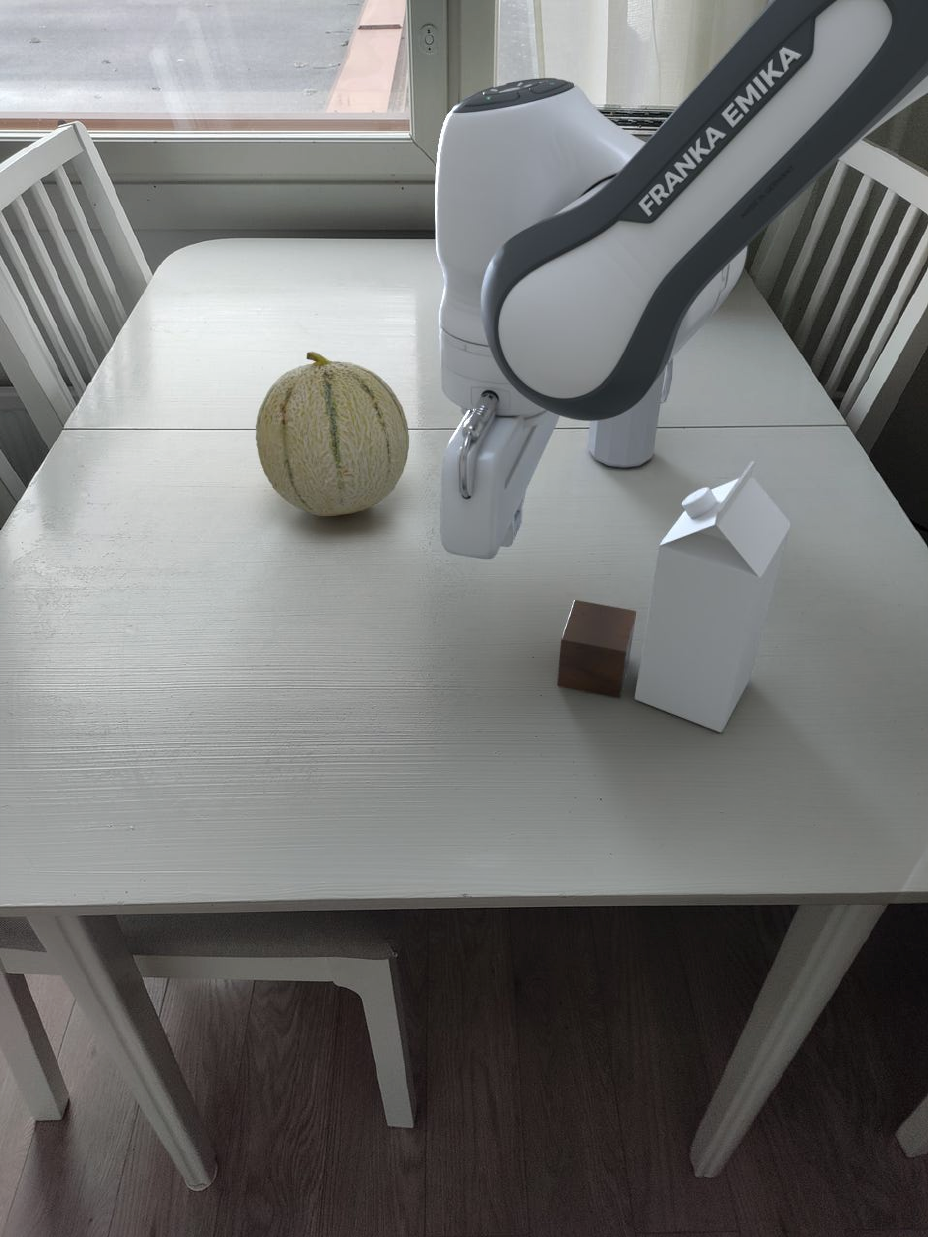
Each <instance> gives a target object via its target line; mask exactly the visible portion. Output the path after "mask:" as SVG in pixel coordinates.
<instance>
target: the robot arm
mask: <svg viewBox="0 0 928 1237" xmlns="http://www.w3.org/2000/svg"><path fill="white" fill-rule="evenodd" d="M927 94H928V0H769V2H768V3H767V4H766V5H765V7H764V8H763V9H762V10H761V11H760V12H759V14H757V16H756V17H755V18H754V20H752V22H750V24H749V25H748V27H746V29H745V30H744V31H743V32H742V33H741V34H740V36H738V38H737V39H736V40H735V41H734V42H733V44H732V45H731V46H730V47H729V49H728V50H727V51H726V52H725V53H724V54H723V55H722V56H721V57H720V58H719V59H718V61H717V62H716V63H715V64H714V65H713V66H712V67H711V69H709V71H708V72H707V73H706V74H705V75H704V77H702V79H701V80H700V81H699V82H698V83H697V84H696V85H695V86H694V87H693V89H692V90H691V91H690V92H689V93H688V94H687V95H686V97H684V99H683V100H682V101H681V102H680V103H679V105H678V106H676V108H675V109H673V111H672V112H671V114H670V115H669V116H668V117H667V118H666V119H665V120H664V121H663V122H662V124H660V126H659V127H658V128H657V129H656V130H655V131H654V132H653V134H651V136H650V137H649V138H648V139H647V140H646V141H643V140H642V139H640V138H638V137H636V136H635V135H633V134H631V133H629V132H628V131H627V130H625V129H623V128H622V127H621V126H619V125H617V124H616V123H615V122H613V121H612V120H610V119H609V118H608V117H606V116H605V115H604V114H603V113H602V112H600V110H598V109H597V107H596V106H594V105H593V102H591V101H590V99H589V98H588V96H587V95H586V93H585V92H584V91H583V89H582V88H581V87H580V86H579V85H577V84H575V83H574V82H571V81H569V80H565V79H560V78H556V77H542V78H541V77H540V78H539V77H538V78H530V79H522V80H517V81H516V80H515V81H511V82H507V83H505V84H502V85H497V86H495V87H494V86H491V87H487V88H485V89H483V90H481V91H477V92H476V93H475V92H474V93H473V94H471V95H469V96H468V97H466V98H463V99H462V100H461V101H460V102H458V103H457V104H456V105H454V106H453V107H452V109H451V111H449V113H448V114H447V115H446V117H445V120H444V122H443V126H442V128H441V131H440V132H441V133H440V138H439V143H438V151H437V160H436V161H437V162H436V173H435V201H434V202H435V206H434V207H435V209H434V210H435V211H434V212H435V216H434V217H435V246H436V248H435V249H436V256H437V258H438V261H439V265H440V268H441V271H442V276H443V291H442V298H441V301H440V305H439V309H438V336H439V361H440V362H439V363H440V364H439V366H440V387H441V390H442V392H443V394H444V396H445V397H446V398H447V399H448V400H449V401H450V402H452V403H453V404H455V405H456V406H458V407H460V412H461V414H462V415H463V418H462V420H461V421H460V423H459V424H458V426H457V428H456V430H455V431H454V433H453V434H452V436H451V438H450V439H449V441H448V443H447V446H446V448H445V451H444V455H443V459H442V467H441V478H440V479H441V480H440V506H439V537H440V543H441V545H442V547H443V549H444V550H445V551H446V552H447V553H449V554H451V555H455V556H462V557H465V558H466V557H467V558H474V559H480V560H492V559H494V558H495V557H496V556H497V554H498V553H499V550H500V548H501V547H502V548H503V547H504V548H509V547H511V546H512V545H513V543H514V541H515V539H516V537H517V533H518V531H519V530H520V527H521V525H522V524H523V506H524V503H525V497H526V494H527V489H528V487H529V485H530V484H531V481H532V478H533V476H534V474H535V472H536V470H537V468H538V465H539V463H540V461H541V459H542V456H543V455H544V452H545V450H546V449H547V446H548V444H549V441H550V439H551V437H552V435H553V433H554V430H555V429H556V426H557V424H558V422H559V419H560V416H561V417H563V418H567V419H571V420H575V421H584V422H590V421H596V420H604V419H609V418H612V417H615V416H618V415H620V414H622V413H624V412H626V411H628V410H629V409H631V408H632V407H633V406H635V405H636V404H637V403H638V402H639V401H640V400H641V399H642V398H643V397H644V396H645V394H646V393H647V392H648V391H649V389H650V388H651V386H652V385H653V384H654V383H655V381H656V380H657V379H658V377H659V376H660V375H661V373H662V372H663V370H664V369H665V367H666V368H667V364H668V362H669V361H670V360H671V359H672V358H673V359H674V357H675V356H676V355H677V354H678V353H679V352H680V351H681V349H682V348H683V347H684V346H685V345H686V344H687V343H688V342H689V341H690V340H691V338H693V337H694V335H695V334H696V333H697V332H698V331H699V330H700V328H701V327H702V326H703V325H704V324H705V323H707V321H708V320H709V319H710V318H711V317H712V316H713V315H714V313H715V312H716V311H717V310H718V309H719V308H720V306H722V304H723V303H724V301H726V299H727V298H728V296H729V295H731V293H732V292H733V290H734V289H735V288H736V287H737V285H738V284H739V282H740V280H741V278H742V276H743V273H744V270H745V268H746V266H747V260H748V257H749V256H748V255H749V249H750V244H751V243H752V242H753V241H754V240H755V239H756V238H758V236H759V235H760V234H761V233H762V232H763V231H765V229H766V228H768V227H769V225H770V224H772V223H773V222H774V221H775V220H776V219H777V218H778V217H779V216H780V215H781V214H782V213H783V212H785V211H786V209H787V208H788V207H790V206H791V205H792V204H793V203H794V202H795V201H796V200H797V199H798V198H799V197H800V196H802V194H803V193H804V192H805V191H806V190H807V189H808V188H809V187H810V186H812V185H813V184H814V183H815V182H816V181H817V180H818V179H819V178H821V176H822V175H823V174H824V173H825V172H827V170H829V169H830V168H831V167H832V166H833V165H834V164H835V163H836V162H838V160H839V159H841V158H842V157H843V156H844V155H846V153H848V151H850V150H851V149H853V147H855V146H856V145H857V144H858V143H860V142H861V141H862V140H863V139H864V138H866V137H867V136H868V135H869V134H871V133H873V132H874V131H876V130H877V129H878V128H879V127H881V125H883V124H884V123H886V122H887V121H888V120H890V119H891V118H892V117H893V116H895V115H897V114H899V113H900V112H902V111H903V110H904V109H905V108H907V107H909V106H910V105H912V104H913V103H914V102H916V101H917V100H919V99H920V98H921V97H923V96H925V95H927ZM665 370H666V369H665Z"/></svg>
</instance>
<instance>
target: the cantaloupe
mask: <svg viewBox="0 0 928 1237" xmlns="http://www.w3.org/2000/svg"><path fill="white" fill-rule="evenodd" d="M306 360H309V361H313V362H312V363H307V364H304V365H300V366H297V367H295V368H293V369H291V370H288V371H286V372H285V373H283V374H282V375H281V376H279V378H278V379H277V380H276V381H275V382H274V383H273V384H272V385H271V386H270V387H269V389H268V390H267V392H266V394H265V396H264V397H263V400H262V402H261V405H260V407H259V409H258V413H257V417H256V425H255V440H256V447H257V453H258V458H259V463H260V465H261V468H262V471H263V473H264V475H265V477H266V478H267V480H268V482H269V483H270V485H271V488H272V489H273V490H275V491H276V493H277V494H279V496H280V497H282V498H283V499H284V500H285V501H286V502H288V503H290V504H291V505H292V506H294V507H296V508H298V509H300V510H302V511H305V512H307V513H309V514H313V515H315V516H318V517H335V516H342V515H348V514H354V513H359V512H362V511H364V510H366V509H369V508H370V507H373V506H375V505H377V504H378V503H380V502H381V501H382V500H384V499H385V498H386V497H387V496H388V495H389V494H391V493H392V491H393V490H394V489H395V487H396V485H397V483H398V482H399V481H400V479H401V477H402V475H403V474H404V471H405V468H406V465H407V460H408V456H409V448H410V434H409V426H408V425H409V424H408V421H407V420H408V419H407V418H406V414H405V411H404V407H403V405H402V404H401V402H400V400H399V398H398V397H397V395H396V393H395V392H394V390H393V389H392V388H391V386H389V384H388V383H387V382H386V381H384V380H383V379H382V378H381V377H380V376H379V375H378V374H376V373H375V372H373V371H372V370H370V369H368V368H365V367H364V366H361V365H359V364H355V363H352V362H350V361H340V360H330V359H328V358H327V357H325V356H323V355H322V354H320V353H317V352H315V351H310V352H306Z"/></svg>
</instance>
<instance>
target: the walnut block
mask: <svg viewBox="0 0 928 1237" xmlns="http://www.w3.org/2000/svg"><path fill="white" fill-rule="evenodd" d="M568 614H569V615H568V617H567V621H566V624H565V627H564V630H563V633H562V636H561V639H560V649H559V661H558V672H557V684H556V685H557V686H558V687H562V688H567V689H572V690H575V691H581V692H586V693H591V694H597V695H602V696H605V697H610V698H616V699H620V698H621V694H622V690H623V686H624V682H625V677H626V674H627V670H628V665H629V661H630V657H631V651H632V644H633V639H634V630H635V625H636V617H637V610H634V609H628V608H622V607H617V606H610V605H607V604H600V603H594V602H589V601H584V600H578V599H574V600H573V602H572V606H571V608H570V612H569V613H568Z"/></svg>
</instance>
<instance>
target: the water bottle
mask: <svg viewBox="0 0 928 1237" xmlns="http://www.w3.org/2000/svg"><path fill="white" fill-rule="evenodd" d="M673 364H674V357H673V358H672V359H671V360H670V361H669V362H668V364H667V365H666V367H665V369H664V370H663V372H662V373H661V375H660V376H659V377H658V379H657V380H656V381H655V383H654V384H653V385H652V386H651V388H650V389H649V391H648V392H647V393H646V394H645V396H644V397H643V398H642V399H641V400H640V401H639V402H638V403H637V404H636V405H635V406H633V407H632V408H631V409H629V410H628V411H626V412H624V413H622V414H620V415H618V416H615V417H612V418H609V419H604V420H596V421H589V430H588V438H587V439H588V440H587V449H588V451H589V453H590V454H591V455H592V456H593V458H594V459H595V461H597V462H599V463H602V464H604V465H606V466H609V467H615V468H623V469H624V468H625V469H626V468H632V467H640V466H641V465H643V464H645V463H646V462H649V460H650V459H652V457H653V456H654V452H655V451H654V450H655V445H656V439H657V438H656V437H657V430H658V423H659V416H660V412H661V411H660V409H661V404H664V403H666V402H667V400H668V397H669V394H670V390H671V386H672V380H673V368H674V365H673ZM665 375H666V377H665Z"/></svg>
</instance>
